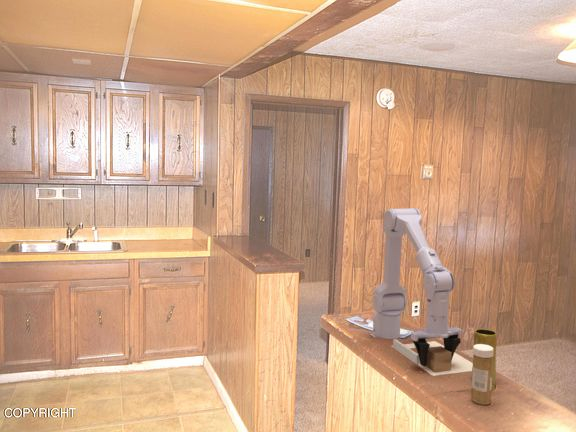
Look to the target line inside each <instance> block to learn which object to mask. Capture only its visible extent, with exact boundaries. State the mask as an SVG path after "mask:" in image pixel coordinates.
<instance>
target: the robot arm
mask: <svg viewBox="0 0 576 432" xmlns="http://www.w3.org/2000/svg"><path fill="white" fill-rule="evenodd" d="M422 221H423V217H422V215H421V211H420V210H419V209H418V208H417V207H412V208H410V207H409V208H392V207H391V208H388V209H386V211H384V212H383V220H382V232H383V233H385V239H384V240H385V242H384V260H383V263H384V264H383V277H382V278H383V280H382V281H383V282H381V283H379V285H377V286H376V287H374V292H373V297H372V299H371V300H372V301H371V302H372V307H373V309H374V311H375V312H374V314H373V319H372V332H371V333H370V336H371V337H372V338H375V339H376V338H381V339H387V340H393V339H396V340H398V339H399V338H400V337H401V317H402V316H401V314H404V311H405V310H406V308H407V306H408V305H407V304H408V300H407V293H406V292H407V290H406V289H405V288H404V286H402V285H401V283H400V282H401V280H400V279H401V263H402V249H403V248H402V247H403V246H402V242H403V236H405V234H406V236H407V237H408V239H409V241H410V243H411V245H412V246H413V248H414V249H415V252H416V255H415V260H416V262H417V264H418V267H419V269H420V271H421V273H422V275H423V277H424V278H423V279H422V286H423V288H424V297H425V298H426V314H425V315H426V317H425V318H426V320H425V328H422V329H419V330H415V331H411V332H410V339H411V340H412V343H414V345H415V347H416V348H415V349H416V351H417V352H416V353H417V354H418V356H419V360H420V364H421V365H422V366H424V367H425V366H426V365H427V354H428V349H429V346H430V344H428V343H427V342H428V341H427V340H429V339H430V340H431V339H432V340H433V339H439V338H440V339H442V341H443V346H444V348H445V349H447V350H448V351H450V352H452V357H451V361H452V358H453V355H454V352H455V353H456V350H457V348H458V347H459V345H460V344H461V343H462V339H461V337H462V334H463V333H462V332H463V330H462V329H461V328H459V327H449V312H450V310H449V308H450V305H449V304H450V292H452V291H453V290H454V288H455V278H454V275H453V273H452V272H451V270H449V269H447V267H444V266H443V264H442V262H441V260H440V258H439V256H438V253H437V252H436V250H435V249H434V248H431V247H430V246H429V244H428V241H427V239H426V236H425V234H424V231H423V228H422V223H423V222H422Z"/></svg>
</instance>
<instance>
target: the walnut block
mask: <svg viewBox="0 0 576 432" xmlns="http://www.w3.org/2000/svg"><path fill="white" fill-rule="evenodd" d="M451 357H452V352H450V351H448V350H447V349H445V348H443V347H442V346H437V347H429V349H428V354H427V365H426V367H427V368H429V369H430V370H432V371H433V372H434V373H435V372H443V371H451Z"/></svg>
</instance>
